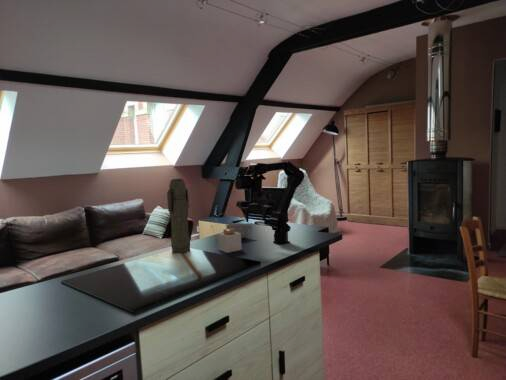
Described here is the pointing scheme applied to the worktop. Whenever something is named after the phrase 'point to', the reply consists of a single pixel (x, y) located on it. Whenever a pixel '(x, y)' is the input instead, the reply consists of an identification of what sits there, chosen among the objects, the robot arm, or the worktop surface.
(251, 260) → the worktop surface
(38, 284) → the worktop surface
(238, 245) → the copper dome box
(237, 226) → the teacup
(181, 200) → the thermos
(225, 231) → the plunger
